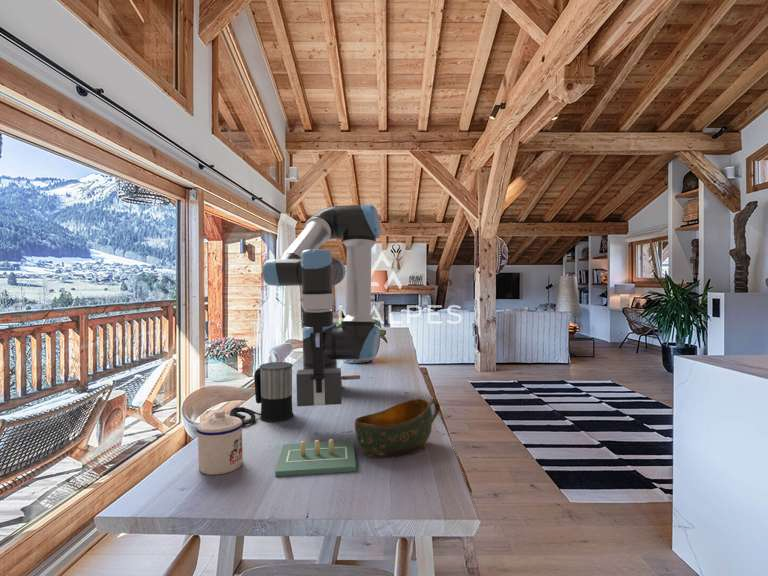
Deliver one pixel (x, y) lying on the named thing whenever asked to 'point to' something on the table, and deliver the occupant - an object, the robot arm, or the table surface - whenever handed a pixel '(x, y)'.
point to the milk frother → (271, 393)
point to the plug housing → (331, 386)
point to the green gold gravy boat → (397, 429)
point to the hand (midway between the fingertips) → (319, 400)
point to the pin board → (316, 458)
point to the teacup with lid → (220, 444)
